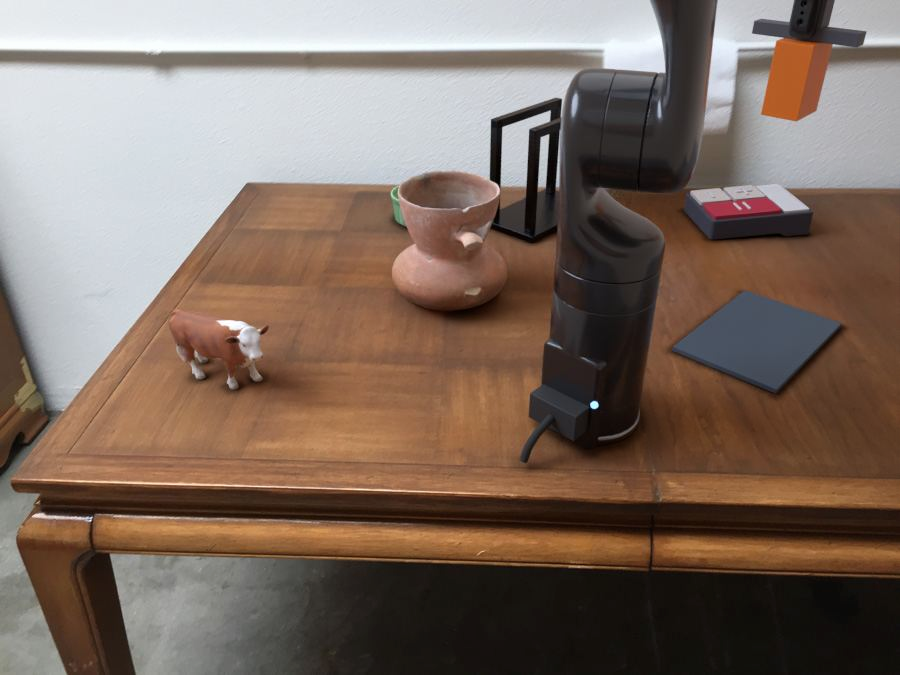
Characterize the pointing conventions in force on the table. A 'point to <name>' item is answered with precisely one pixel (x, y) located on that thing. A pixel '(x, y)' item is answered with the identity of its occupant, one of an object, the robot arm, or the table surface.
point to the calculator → (748, 211)
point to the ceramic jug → (449, 241)
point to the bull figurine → (216, 342)
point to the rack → (529, 175)
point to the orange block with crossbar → (801, 64)
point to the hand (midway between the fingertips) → (806, 34)
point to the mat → (758, 340)
